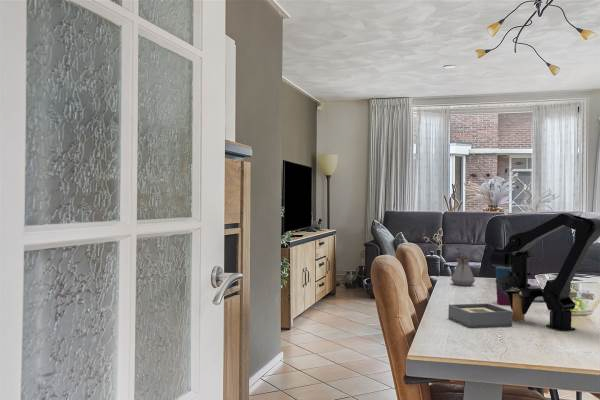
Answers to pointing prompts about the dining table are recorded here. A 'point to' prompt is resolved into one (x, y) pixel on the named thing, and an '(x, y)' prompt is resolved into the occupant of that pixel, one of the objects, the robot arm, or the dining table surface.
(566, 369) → the dining table surface
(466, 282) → the grey tied sack
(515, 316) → the peg
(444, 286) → the dining table surface
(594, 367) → the dining table surface
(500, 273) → the cup
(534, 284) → the paper bowls
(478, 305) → the socket tray
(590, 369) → the dining table surface
